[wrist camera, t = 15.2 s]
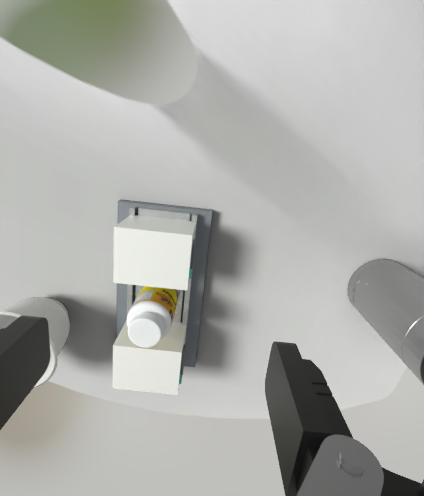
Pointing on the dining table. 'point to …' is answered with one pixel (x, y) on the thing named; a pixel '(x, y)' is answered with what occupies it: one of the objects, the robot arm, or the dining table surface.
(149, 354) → the mounted modules
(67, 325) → the teacup
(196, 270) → the rail board
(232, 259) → the dining table surface
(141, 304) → the supplement bottle
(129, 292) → the steel rail
